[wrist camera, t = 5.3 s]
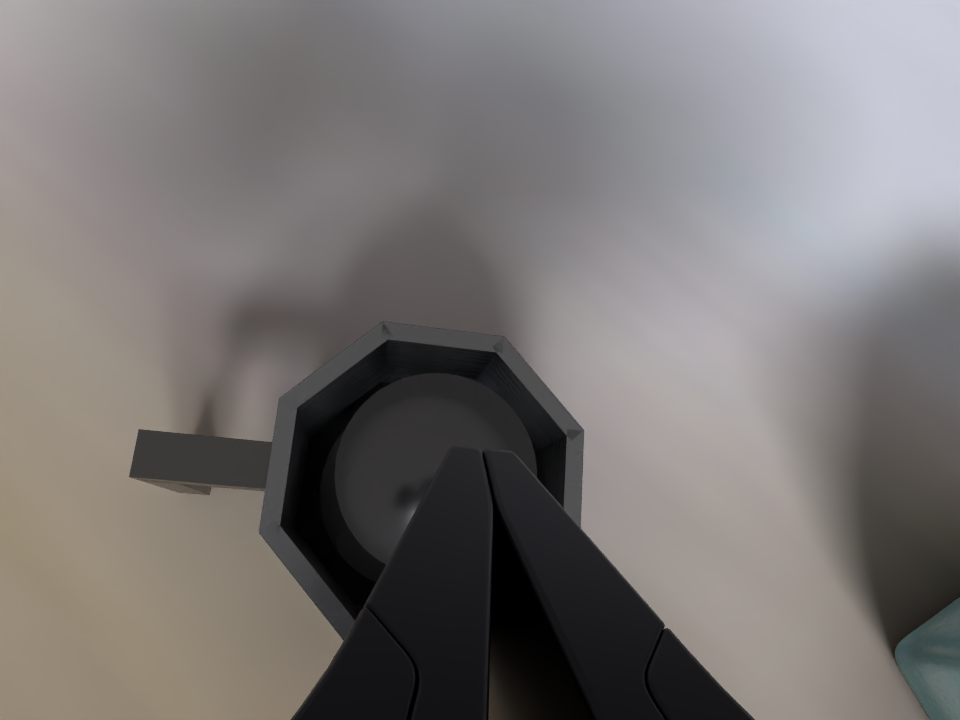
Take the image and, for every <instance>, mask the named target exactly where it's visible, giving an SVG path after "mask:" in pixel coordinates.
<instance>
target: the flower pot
mask: <svg viewBox="0 0 960 720" xmlns="http://www.w3.org/2000/svg"><path fill="white" fill-rule="evenodd" d="M895 660H896V662H897V665H898V667H899V669H900V671H901V672H902V674H903V676H904V677H905V679H906V680H907V682H908V684H909V685H910V687H911V689H912V690H913V692H914V694H915V695H916V697H917V698H918V700H919V702H920V703H921V705H922V707H923V708H924V710H925V711H926V713H927V715H928V716H929V718H930V720H960V597H959V598H957V599H956V600H955V601H953V602H952V603H951V604H949V605H948V606H947V607H945V608H944V609H943V610H941V611H940V612H939V613H937V614H936V615H935V616H933V617H932V618H931V619H929V620H928V621H926V622H925V623H924V624H922V625H921V626H920V627H918V628H917V629H915V630H914V631H913V632H911V633H910V634H908V635H907V636H906V637H904V638H903V639H902V640H901V641H900V642H899V643H898V645H897V646H896V649H895Z"/></svg>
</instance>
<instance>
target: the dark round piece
mask: <svg viewBox="0 0 960 720" xmlns="http://www.w3.org/2000/svg"><path fill="white" fill-rule="evenodd" d="M451 446H465V447H475V448H479V449H480V450H481V451H482V452H483V451H484V450H485V449H495V450H505V451H512V452H514V453H515V454H516V455H517V456H518V457H519V458H520V460H521V461H522V462H523V463H524V464H525V465H526V466H527V468H528V469H529V470H530V471H531V472H532V473H533V474H534V476H535V477H536V478H537V465H536V458H535V453H534V449H533V445H532V442H531V439H530V437H529V435H528V432H527V430H526V428H525V426H524V425H523V423H522V421H521V419H520V418H519V417H518V415H517V414H516V413H515V411H514V410H513V409H512V408H511V406H510V405H509V404H508V403H507V402H506V401H505V400H504V399H503V398H501V397H500V396H499V395H498V394H496V393H495V392H494V391H492V390H491V389H489V388H487V387H486V386H484V385H482V384H480V383H478V382H476V381H474V380H471V379H468V378H465V377H462V376H458V375H452V374H446V373H427V374H419V375H414V376H409V377H406V378H403V379H400V380H398V381H395V382H393V383H391V384H389V385H387V386H385V387H384V388H382V389H381V390H379V391H378V392H376V393H375V394H374V395H372V396H371V397H370V398H369V399H368V400H367V401H366V402H365V403H364V404H363V405H362V406H361V407H360V408H359V409H358V411H357V412H356V413H355V414H354V416H353V417H352V419H351V420H350V422H349V423H348V425H347V427H346V429H345V430H344V432H343V433H342V434H341V435H340V436H339V438H338V439H337V441H336V442H335V444H334V445H333V447H332V449H331V451H330V453H329V455H328V457H327V459H326V462H325V465H324V468H323V472H322V477H321V482H320V508H321V513H322V518H323V522H324V525H325V528H326V531H327V533H328V535H329V537H330V539H331V541H332V543H333V545H334V546H335V548H336V549H337V551H338V552H339V554H340V555H341V556H342V557H343V558H344V560H345V561H346V562H347V563H348V564H349V565H350V566H352V567H353V568H354V569H355V570H356V571H358V572H359V573H360V574H362V575H364V576H365V577H367V578H368V579H370V580H372V581H375V582H377V581H378V579H379V577H380V575H381V573H382V571H383V570H384V568H385V566H386V564H387V562H388V560H389V559H390V557H391V555H392V553H393V551H394V549H395V547H396V546H397V544H398V542H399V540H400V538H401V536H402V535H403V533H404V531H405V529H406V527H407V525H408V523H409V522H410V520H411V518H412V516H413V514H414V512H415V511H416V509H417V507H418V505H419V503H420V501H421V500H422V498H423V496H424V494H425V492H426V490H427V488H428V487H429V485H430V483H431V481H432V479H433V477H434V476H435V474H436V472H437V470H438V468H439V466H440V464H441V463H442V461H443V459H444V457H445V455H446V453H447V452H448V450H449V448H450V447H451Z"/></svg>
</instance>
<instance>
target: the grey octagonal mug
mask: <svg viewBox="0 0 960 720" xmlns="http://www.w3.org/2000/svg"><path fill="white" fill-rule="evenodd" d="M427 373H446V374H452V375H458V376H462V377H465V378H468V379H471V380H474V381H476V382H478V383H480V384H482V385H484V386H486V387H487V388H489V389H491V390H492V391H494V392H495V393H496V394H498V395H499V396H500V397H501V398H503V399H504V400H505V401H506V402H507V403H508V404H509V405H510V406H511V408H512V409H513V410H514V411H515V413H516V414H517V415H518V417H519V418H520V419H521V421H522V423H523V425H524V426H525V428H526V430H527V432H528V435H529V437H530V439H531V442H532V445H533V449H534V453H535V458H536V465H537V479H538V480H539V481H540V482H541V484H542V485H543V486H544V487H545V488H546V489H547V490H548V491H549V493H550V494H551V495H552V496H553V497H554V498H555V499H556V501H557V502H558V503H559V504H560V505H561V506H562V507H563V509H564V510H565V511H566V512H567V513H568V514H569V515H570V517H571V518H572V519H573V520H574V521H575V522H576V523H577V525H578V526H579V527H580V528H581V502H582V474H583V447H584V431H583V428H582V427H581V426H580V425H579V424H578V422H577V421H576V420H575V419H574V418H573V417H572V415H571V414H570V413H569V412H568V411H567V410H566V408H565V407H564V406H563V405H562V404H561V402H560V401H559V400H558V399H557V398H556V397H555V395H554V394H553V393H552V392H551V391H550V390H549V388H548V387H547V386H546V385H545V384H544V382H543V381H542V380H541V379H540V378H539V377H538V375H537V374H536V373H535V372H534V371H533V369H532V368H531V367H530V366H529V365H528V364H527V362H526V361H525V360H524V359H523V358H522V357H521V355H520V354H519V353H518V352H517V351H516V349H515V348H514V347H513V346H512V345H511V344H510V342H509V341H508V340H507V339H506V338H505V337H504V336H496V335H487V334H479V333H471V332H463V331H455V330H447V329H439V328H431V327H423V326H415V325H407V324H399V323H390V322H381V323H380V324H379V325H377V326H376V327H375V328H373V329H372V330H371V331H369V332H368V333H366V334H365V335H364V336H362V337H361V338H360V339H358V340H357V341H356V342H354V343H353V344H352V345H350V346H349V347H348V348H346V349H345V350H343V351H342V352H341V353H339V354H338V355H337V356H335V357H334V358H333V359H331V360H330V361H329V362H327V363H326V364H325V365H323V366H322V367H320V368H319V369H318V370H316V371H315V372H314V373H312V374H311V375H310V376H308V377H307V378H306V379H304V380H303V381H302V382H300V383H299V384H298V385H296V386H295V387H293V388H292V389H291V390H289V391H288V392H287V393H285V394H284V395H283V396H281V397H280V398H279V403H278V410H277V416H276V423H275V429H274V436H273V442H264V441H254V440H243V439H233V438H223V437H212V436H202V435H192V434H181V433H171V432H161V431H151V430H140V429H139V431H138V436H137V441H136V446H135V451H134V456H133V461H132V466H131V470H130V475H129V477H131V478H134V479H137V480H140V481H144V482H147V483H150V484H153V485H156V486H160V487H163V488H166V489H169V490H173V491H176V492H180V493H192V494H203V495H210V491H211V487H221V488H233V489H244V490H255V491H265V495H264V501H263V508H262V515H261V521H260V528H259V532H260V533H259V534H260V535H261V536H262V537H263V539H264V540H265V541H266V542H267V544H268V545H269V546H270V548H271V549H272V550H273V551H274V553H275V554H276V555H277V556H278V558H279V559H280V560H281V562H282V563H283V564H284V565H285V567H286V568H287V569H288V570H289V572H290V573H291V574H292V576H293V577H294V578H295V579H296V581H297V582H298V583H299V584H300V586H301V587H302V588H303V590H304V591H305V592H306V593H307V595H308V596H309V597H310V598H311V600H312V601H313V602H314V603H315V605H316V606H317V607H318V609H319V610H320V611H321V612H322V614H323V615H324V616H325V617H326V619H327V620H328V621H329V623H330V624H331V625H332V626H333V628H334V629H335V630H336V631H337V633H338V634H339V635H340V637H341V638H342V639H343V640H345V638H346V636H347V635H348V633H349V631H350V630H351V628H352V626H353V624H354V622H355V620H356V619H357V617H358V615H359V613H360V611H361V610H362V609H363V608H364V605H365V603H366V601H367V599H368V597H369V595H370V594H371V592H372V590H373V588H374V586H375V584H376V583H377V582H375V581H372V580H370V579H368V578H367V577H365V576H364V575H362V574H360V573H359V572H358V571H356V570H355V569H354V568H353V567H352V566H350V565H349V564H348V563H347V562H346V561H345V560H344V558H343V557H342V556H341V555H340V554H339V552H338V551H337V549H336V548H335V546H334V545H333V543H332V541H331V539H330V537H329V535H328V533H327V531H326V528H325V525H324V522H323V518H322V513H321V508H320V482H321V477H322V472H323V468H324V465H325V462H326V459H327V457H328V455H329V453H330V451H331V449H332V447H333V445H334V444H335V442H336V441H337V439H338V438H339V436H340V435H341V434H342V433H343V432H344V430H345V429H346V427H347V425H348V423H349V422H350V420H351V419H352V417H353V416H354V414H355V413H356V412H357V411H358V409H359V408H360V407H361V406H362V405H363V404H364V403H365V402H366V401H367V400H368V399H369V398H370V397H371V396H372V395H374V394H375V393H376V392H378V391H379V390H381V389H382V388H384V387H385V386H387V385H389V384H391V383H393V382H395V381H398V380H400V379H403V378H406V377H409V376H414V375H419V374H427Z"/></svg>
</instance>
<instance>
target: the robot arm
mask: <svg viewBox="0 0 960 720" xmlns="http://www.w3.org/2000/svg"><path fill="white" fill-rule="evenodd" d="M664 627H665V625H664V623H663V621H662V620H661V619H660V618H659V617H658V616H657V615H656V613H655V612H654V611H653V610H652V609H651V608H650V607H649V605H648V604H647V603H646V602H645V601H644V600H643V599H642V597H641V596H640V595H639V594H638V593H637V592H636V591H635V589H634V588H633V587H632V586H631V585H630V584H629V583H628V581H627V580H626V579H625V578H624V577H623V576H622V575H621V574H620V572H619V571H618V570H617V569H616V568H615V567H614V566H613V564H612V563H611V562H610V561H609V560H608V559H607V558H606V556H605V555H604V554H603V553H602V552H601V551H600V550H599V548H598V547H597V546H596V545H595V544H594V543H593V542H592V540H591V539H590V538H589V537H588V536H587V535H586V534H585V532H584V531H583V530H582V529H581V528H580V527H579V526H578V525H577V523H576V522H575V521H574V520H573V519H572V518H571V517H570V515H569V514H568V513H567V512H566V511H565V510H564V509H563V507H562V506H561V505H560V504H559V503H558V502H557V501H556V499H555V498H554V497H553V496H552V495H551V494H550V493H549V491H548V490H547V489H546V488H545V487H544V486H543V485H542V484H541V482H540V481H539V480H538V479H537V478H536V477H535V476H534V474H533V473H532V472H531V471H530V470H529V469H528V468H527V466H526V465H525V464H524V463H523V462H522V461H521V460H520V458H519V457H518V456H517V455H516V454H515V453H514V452H512V451H505V450H495V449H485V450H484V451H483V452H482V451H481V450H480V449H479V448H475V447H465V446H451V447H450V448H449V450H448V452H447V453H446V455H445V457H444V459H443V461H442V463H441V464H440V466H439V468H438V470H437V472H436V474H435V476H434V477H433V479H432V481H431V483H430V485H429V487H428V488H427V490H426V492H425V494H424V496H423V498H422V500H421V501H420V503H419V505H418V507H417V509H416V511H415V512H414V514H413V516H412V518H411V520H410V522H409V523H408V525H407V527H406V529H405V531H404V533H403V535H402V536H401V538H400V540H399V542H398V544H397V546H396V547H395V549H394V551H393V553H392V555H391V557H390V559H389V560H388V562H387V564H386V566H385V568H384V570H383V571H382V573H381V575H380V577H379V579H378V581H377V583H376V584H375V586H374V588H373V590H372V592H371V594H370V595H369V597H368V599H367V601H366V603H365V605H364V608H363V609H362V610H361V611H360V613H359V615H358V617H357V619H356V620H355V622H354V624H353V626H352V628H351V630H350V631H349V633H348V635H347V636H346V638H345V640H344V642H343V643H342V645H341V647H340V648H339V650H338V652H337V653H336V655H335V657H334V658H333V660H332V662H331V663H330V665H329V667H328V668H327V670H326V671H325V672H324V674H323V675H322V677H321V678H320V680H319V681H318V682H317V684H316V685H315V687H314V688H313V690H312V691H311V692H310V694H309V695H308V697H307V698H306V700H305V701H304V702H303V704H302V705H301V707H300V708H299V709H298V711H297V712H296V713H295V715H294V716H293V717H292V719H291V720H755V719H754V718H753V717H752V716H751V715H750V714H749V713H748V712H747V711H746V710H745V709H744V708H743V707H742V706H741V705H740V704H739V703H738V702H737V701H736V700H735V699H734V698H733V697H732V696H731V695H730V694H729V693H728V692H727V691H726V690H725V689H724V688H723V687H722V686H721V685H720V684H719V683H718V682H717V681H716V680H715V679H714V678H713V677H712V676H711V675H710V673H709V672H708V671H707V670H706V669H705V668H704V667H703V666H702V665H701V664H700V663H699V662H698V660H697V659H696V658H695V657H694V656H693V655H692V654H691V653H690V652H689V651H688V649H687V648H686V647H685V646H684V645H683V644H682V643H681V642H680V640H679V639H678V638H677V637H676V636H675V635H674V634H673V632H672V631H671V630H670V629H668V628H665V629H664ZM663 629H664V630H663Z"/></svg>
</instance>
